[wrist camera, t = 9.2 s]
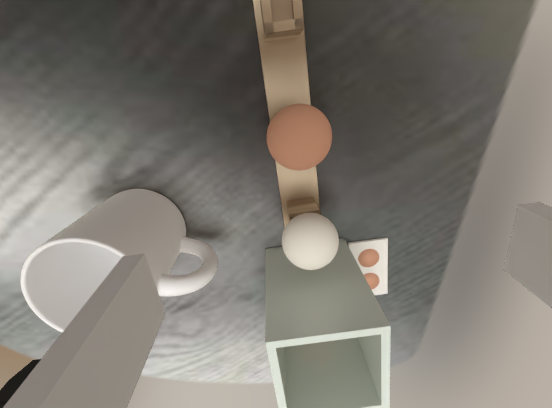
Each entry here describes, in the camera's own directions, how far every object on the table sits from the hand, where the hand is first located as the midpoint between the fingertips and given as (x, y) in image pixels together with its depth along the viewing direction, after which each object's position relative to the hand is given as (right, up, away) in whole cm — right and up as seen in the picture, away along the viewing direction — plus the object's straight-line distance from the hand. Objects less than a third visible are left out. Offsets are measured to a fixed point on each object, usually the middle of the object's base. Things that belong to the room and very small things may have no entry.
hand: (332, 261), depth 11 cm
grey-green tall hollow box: (+1, -6, +21) cm, 22 cm away
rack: (-1, +9, +15) cm, 18 cm away
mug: (-13, 0, +19) cm, 23 cm away
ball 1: (-1, +7, +11) cm, 13 cm away
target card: (+8, -5, +21) cm, 23 cm away
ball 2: (+1, 0, +14) cm, 14 cm away
